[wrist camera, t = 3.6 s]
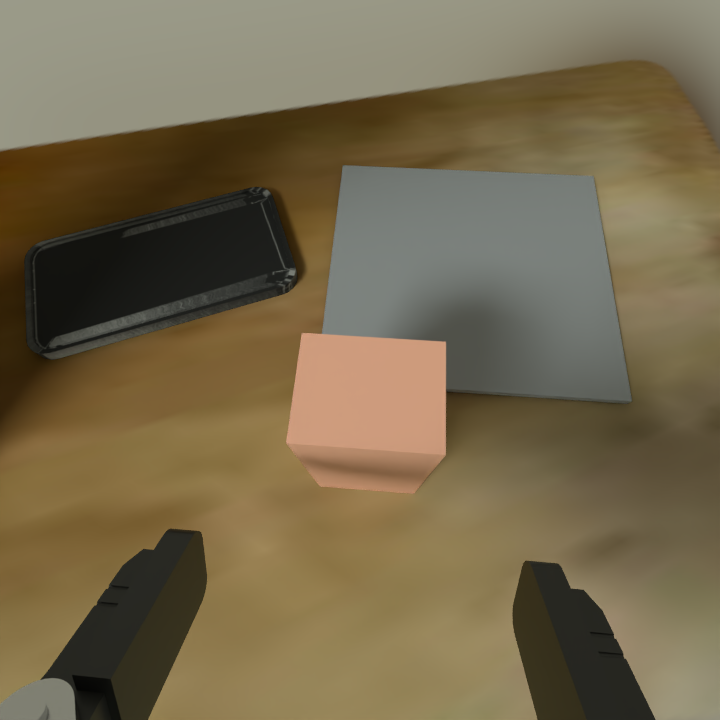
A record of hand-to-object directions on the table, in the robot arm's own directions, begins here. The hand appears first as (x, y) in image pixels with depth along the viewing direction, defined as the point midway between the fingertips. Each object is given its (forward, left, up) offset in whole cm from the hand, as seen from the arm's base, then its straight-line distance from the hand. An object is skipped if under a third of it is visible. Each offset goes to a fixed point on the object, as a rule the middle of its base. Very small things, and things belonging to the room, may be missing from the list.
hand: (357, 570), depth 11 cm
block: (0, +5, -10) cm, 11 cm away
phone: (-13, +15, -10) cm, 22 cm away
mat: (+5, +16, -10) cm, 19 cm away
